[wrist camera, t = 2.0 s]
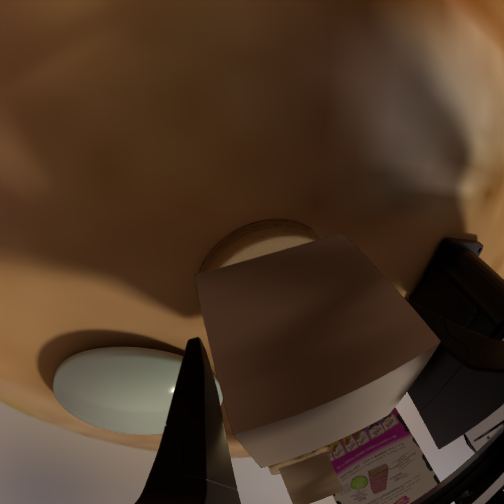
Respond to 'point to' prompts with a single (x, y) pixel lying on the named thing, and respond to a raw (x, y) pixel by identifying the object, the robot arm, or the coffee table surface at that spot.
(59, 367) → the sage dish
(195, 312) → the coffee table surface
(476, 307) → the robot arm
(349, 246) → the walnut block
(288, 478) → the oak block
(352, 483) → the candy bar box
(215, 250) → the balance
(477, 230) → the coffee table surface
